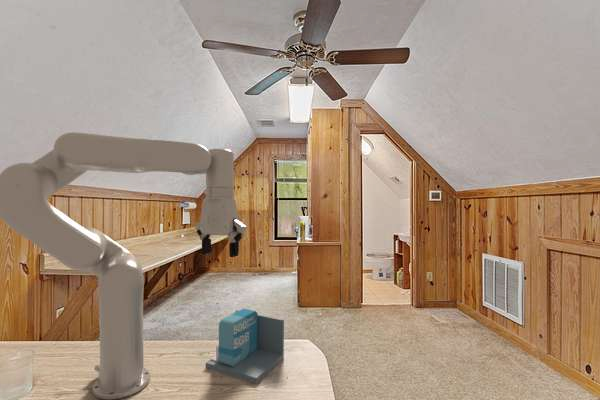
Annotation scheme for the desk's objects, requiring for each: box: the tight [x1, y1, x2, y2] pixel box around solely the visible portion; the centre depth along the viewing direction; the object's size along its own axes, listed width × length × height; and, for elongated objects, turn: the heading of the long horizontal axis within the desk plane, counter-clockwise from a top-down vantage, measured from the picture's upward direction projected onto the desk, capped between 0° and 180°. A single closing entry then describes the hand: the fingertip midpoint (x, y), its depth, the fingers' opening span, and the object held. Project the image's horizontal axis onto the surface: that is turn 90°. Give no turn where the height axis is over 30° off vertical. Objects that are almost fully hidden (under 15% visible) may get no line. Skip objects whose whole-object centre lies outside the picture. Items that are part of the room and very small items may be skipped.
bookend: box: [209, 343, 220, 362], centre depth 97 cm, size 3×10×4 cm, turn 154°
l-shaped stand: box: [205, 309, 285, 385], centre depth 94 cm, size 16×14×12 cm
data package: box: [218, 308, 259, 366], centre depth 95 cm, size 12×4×12 cm, turn 152°
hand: (219, 254), depth 94 cm, fingers open, 9 cm apart
